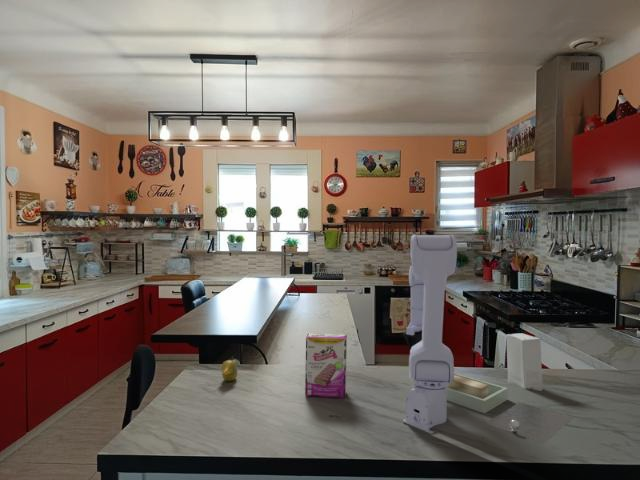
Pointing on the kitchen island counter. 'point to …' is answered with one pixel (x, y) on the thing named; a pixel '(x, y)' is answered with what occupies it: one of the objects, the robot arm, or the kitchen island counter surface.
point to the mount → (530, 422)
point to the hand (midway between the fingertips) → (420, 355)
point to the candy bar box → (326, 365)
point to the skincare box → (524, 361)
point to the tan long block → (469, 387)
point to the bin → (482, 405)
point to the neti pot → (229, 370)
